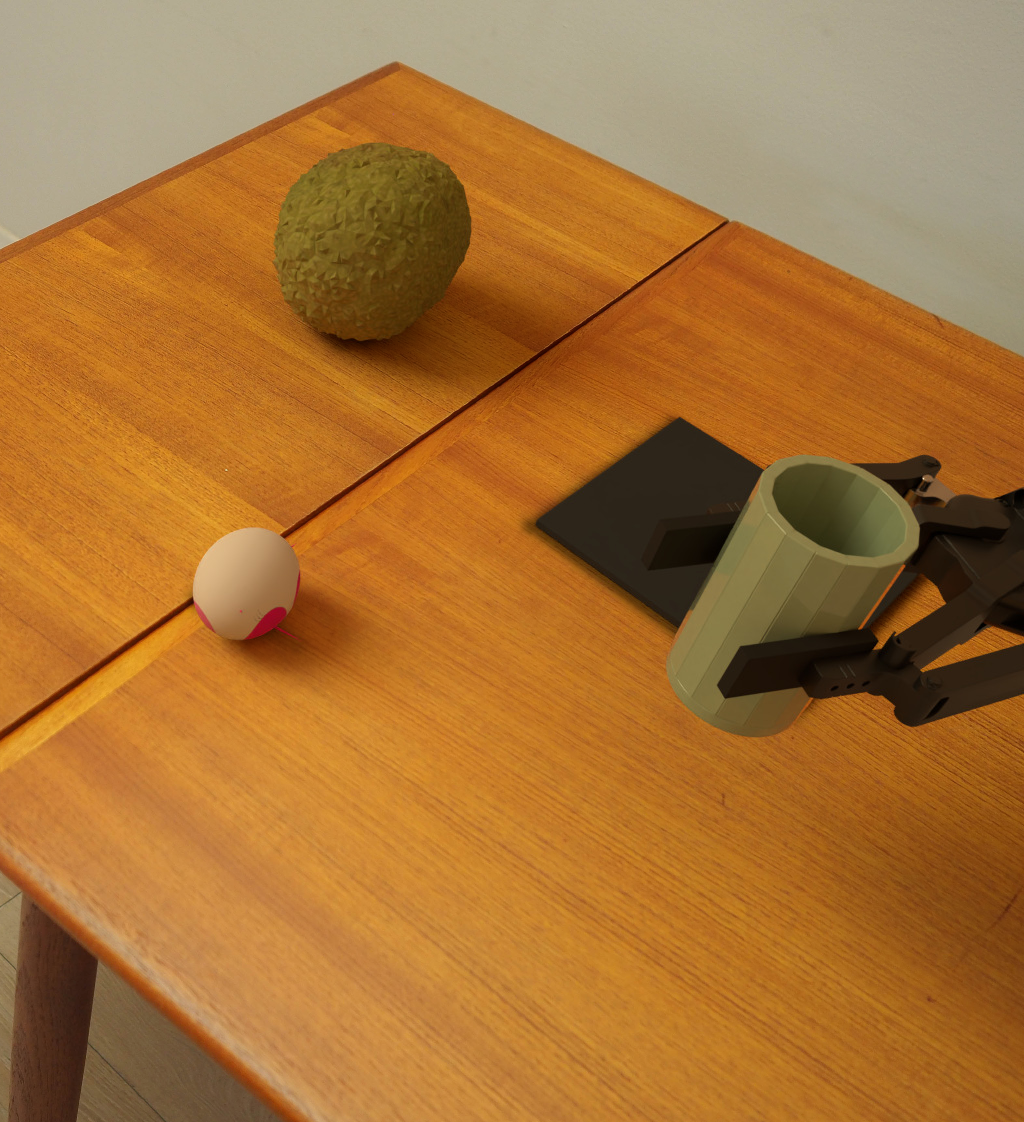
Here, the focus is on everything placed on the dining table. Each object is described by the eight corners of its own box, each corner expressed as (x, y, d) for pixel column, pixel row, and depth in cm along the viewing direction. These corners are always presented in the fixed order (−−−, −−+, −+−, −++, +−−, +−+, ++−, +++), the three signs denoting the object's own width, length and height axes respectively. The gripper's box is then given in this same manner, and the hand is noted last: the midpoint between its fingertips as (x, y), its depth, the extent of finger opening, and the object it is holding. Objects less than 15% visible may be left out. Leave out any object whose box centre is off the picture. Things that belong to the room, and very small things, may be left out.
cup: (826, 689, 63) (946, 518, 55) (758, 762, 59) (875, 591, 51) (711, 608, 66) (807, 434, 57) (638, 673, 62) (730, 498, 54)
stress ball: (233, 699, 77) (297, 674, 72) (144, 604, 75) (203, 571, 70) (294, 619, 82) (359, 590, 77) (212, 528, 80) (272, 491, 75)
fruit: (250, 245, 106) (350, 83, 99) (393, 338, 108) (500, 185, 102) (225, 298, 91) (339, 112, 85) (390, 403, 94) (514, 230, 87)
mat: (919, 575, 87) (923, 569, 87) (791, 709, 78) (795, 703, 77) (677, 422, 96) (679, 416, 96) (534, 525, 86) (536, 519, 86)
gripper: (1194, 762, 59) (768, 842, 53) (943, 472, 72) (577, 511, 66) (1308, 661, 54) (848, 737, 48) (1014, 367, 66) (622, 399, 61)
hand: (691, 606), depth 57 cm, fingers closed on cup, 7 cm apart
